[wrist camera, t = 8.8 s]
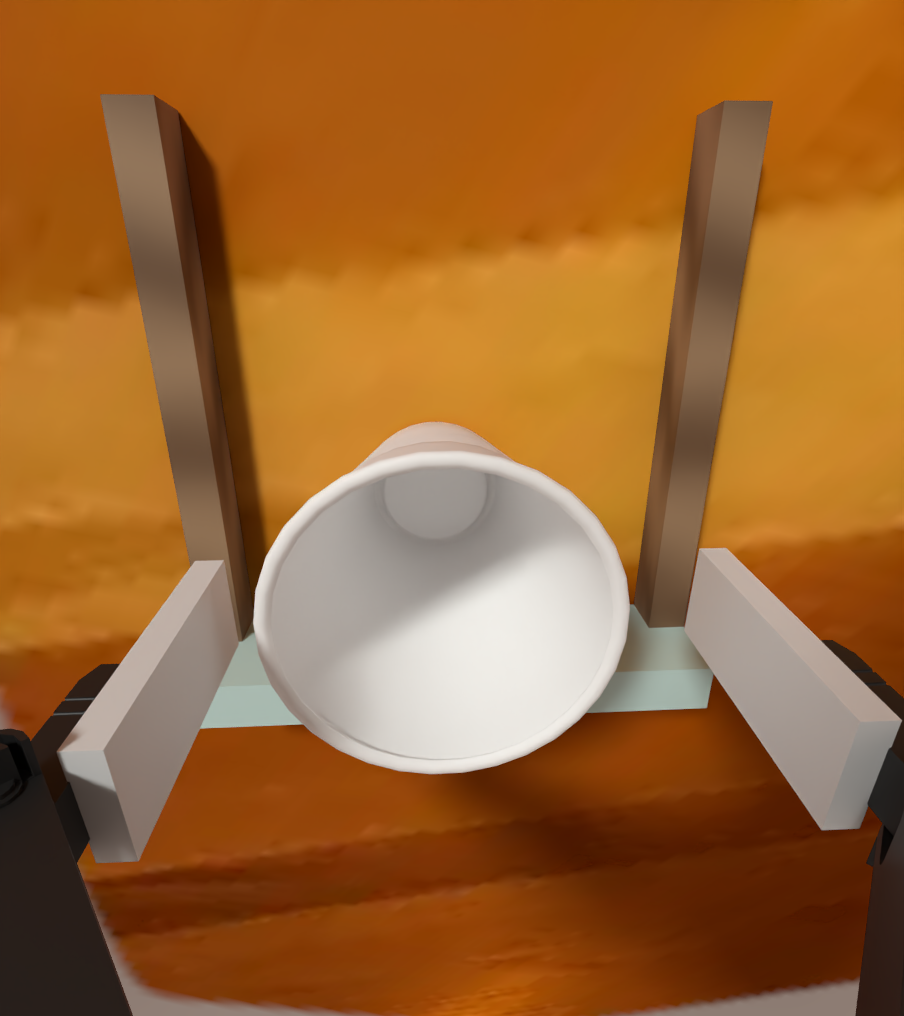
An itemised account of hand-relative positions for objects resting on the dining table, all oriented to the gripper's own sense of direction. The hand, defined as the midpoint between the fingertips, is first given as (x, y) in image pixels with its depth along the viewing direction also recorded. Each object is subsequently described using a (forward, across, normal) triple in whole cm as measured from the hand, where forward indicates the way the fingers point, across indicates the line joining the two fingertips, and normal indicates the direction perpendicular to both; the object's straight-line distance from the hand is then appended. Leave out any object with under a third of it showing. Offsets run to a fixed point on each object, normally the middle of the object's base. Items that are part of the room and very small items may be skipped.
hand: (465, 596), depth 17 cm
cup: (+10, -1, -1) cm, 10 cm away
